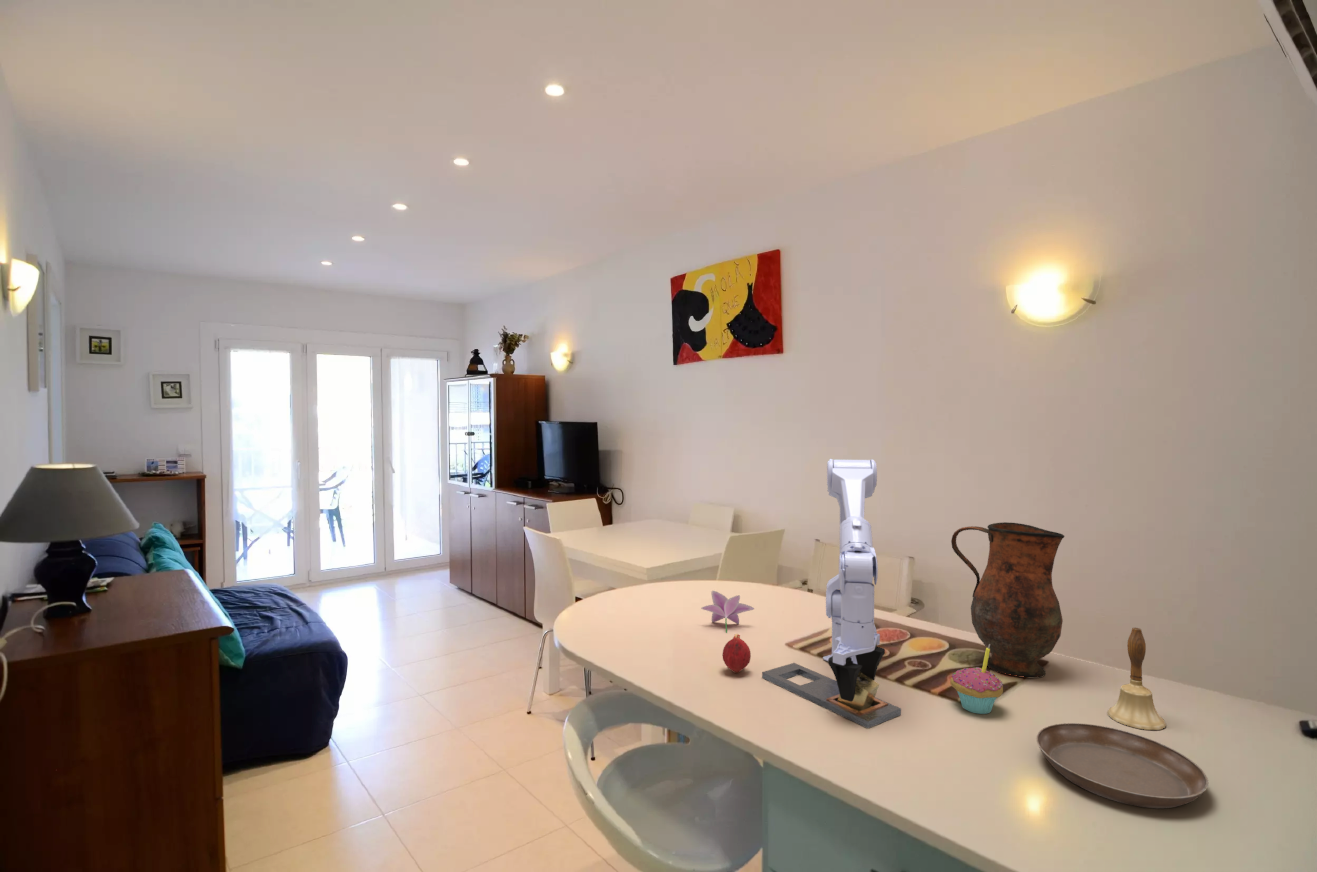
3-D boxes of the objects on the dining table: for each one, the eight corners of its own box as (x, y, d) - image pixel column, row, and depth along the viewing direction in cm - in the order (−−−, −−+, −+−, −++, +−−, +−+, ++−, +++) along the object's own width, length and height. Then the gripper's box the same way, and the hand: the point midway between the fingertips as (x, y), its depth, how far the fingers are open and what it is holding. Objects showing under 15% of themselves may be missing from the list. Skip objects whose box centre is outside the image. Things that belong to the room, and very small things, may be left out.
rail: (793, 668, 138) (794, 661, 138) (900, 714, 117) (901, 706, 117) (762, 677, 133) (762, 670, 133) (867, 728, 112) (867, 720, 112)
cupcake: (998, 702, 122) (999, 637, 121) (1006, 722, 114) (1007, 653, 113) (948, 695, 125) (948, 632, 124) (952, 715, 117) (953, 648, 116)
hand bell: (1096, 713, 117) (1098, 624, 117) (1126, 705, 120) (1128, 619, 120) (1146, 734, 109) (1148, 639, 109) (1177, 725, 113) (1179, 632, 112)
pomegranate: (749, 679, 132) (749, 639, 132) (721, 676, 134) (721, 637, 133) (751, 668, 138) (751, 630, 138) (724, 666, 139) (724, 628, 139)
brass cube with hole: (849, 692, 123) (857, 669, 121) (870, 707, 120) (879, 683, 118) (837, 700, 119) (846, 676, 118) (859, 715, 116) (868, 691, 115)
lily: (760, 633, 163) (756, 595, 168) (737, 626, 155) (733, 586, 159) (718, 640, 169) (715, 603, 174) (694, 634, 161) (692, 594, 165)
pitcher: (1056, 692, 126) (1059, 536, 125) (939, 666, 139) (941, 525, 138) (1067, 666, 139) (1069, 524, 138) (959, 644, 152) (961, 515, 151)
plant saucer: (1210, 773, 98) (1211, 751, 98) (1204, 840, 82) (1204, 814, 82) (1052, 729, 112) (1052, 710, 112) (1021, 780, 96) (1021, 757, 96)
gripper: (855, 605, 127) (854, 675, 127) (817, 622, 116) (816, 698, 116) (890, 612, 122) (890, 685, 122) (854, 631, 111) (854, 711, 112)
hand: (856, 692), depth 119 cm, fingers open, 7 cm apart
